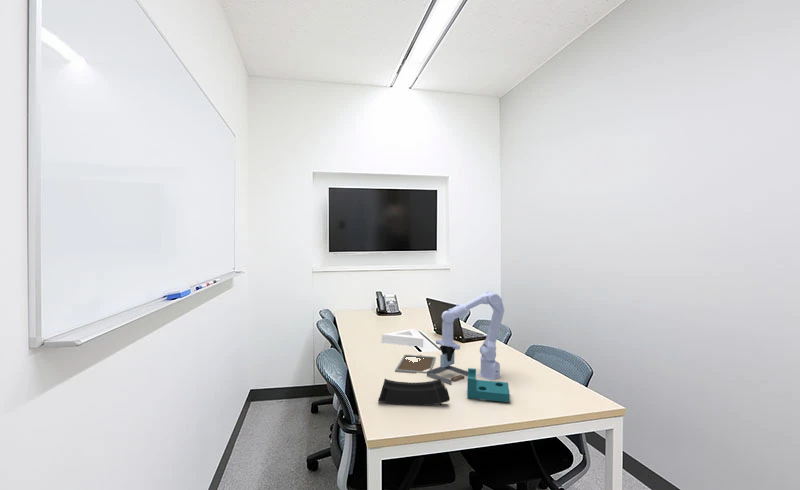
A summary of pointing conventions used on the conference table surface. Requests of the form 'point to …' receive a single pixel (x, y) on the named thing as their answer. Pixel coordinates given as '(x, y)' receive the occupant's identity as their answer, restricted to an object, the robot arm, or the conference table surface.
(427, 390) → the magazine
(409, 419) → the conference table surface
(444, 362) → the panel
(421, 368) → the picture frame
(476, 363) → the conference table surface
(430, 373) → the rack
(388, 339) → the triangle block
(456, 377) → the offcut top
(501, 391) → the teal l-shaped bracket
